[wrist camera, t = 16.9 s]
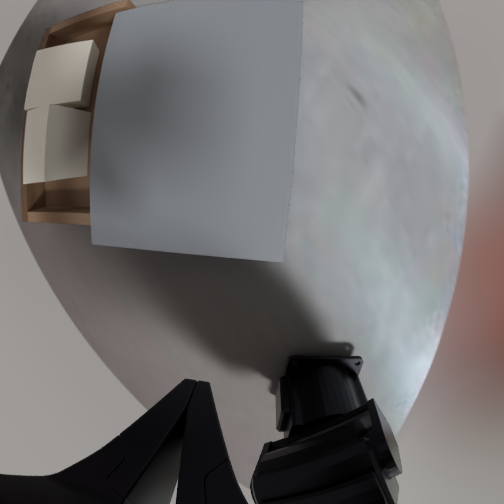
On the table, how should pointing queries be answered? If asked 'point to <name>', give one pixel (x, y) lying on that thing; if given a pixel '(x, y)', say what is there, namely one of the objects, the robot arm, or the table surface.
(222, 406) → the table surface
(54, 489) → the robot arm
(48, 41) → the box
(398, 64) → the table surface
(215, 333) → the table surface
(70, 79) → the tile
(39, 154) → the tile
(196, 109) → the board
